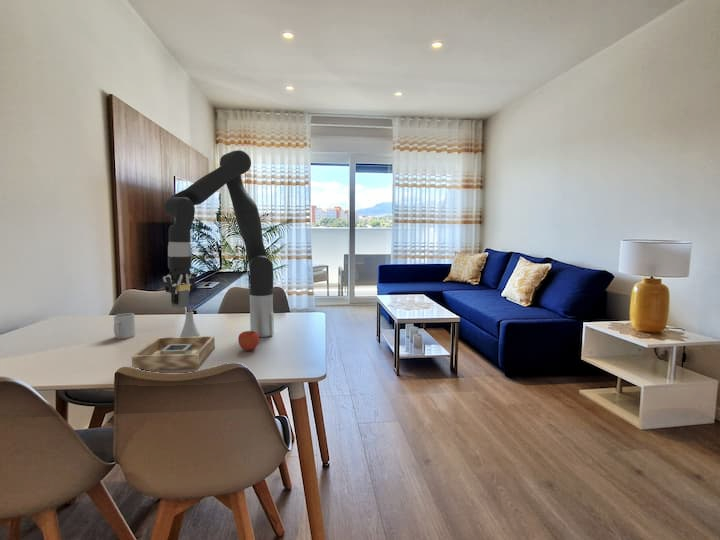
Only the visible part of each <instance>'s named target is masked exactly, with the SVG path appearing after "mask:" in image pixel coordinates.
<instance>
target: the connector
mask: <svg viewBox="0 0 720 540" xmlns="http://www.w3.org/2000/svg"><path fill="white" fill-rule="evenodd" d="M175 285H176V284H175ZM190 286H191V284H181V285H179V287H178V293H177V294H178V304H177V305H175V304H172V302H171V301H170V302H171V308H176V309H177V308H178V309H182V308H186V307H189V306H190V292H189V290H190ZM173 290H175V287H173ZM190 291H191V290H190Z"/></svg>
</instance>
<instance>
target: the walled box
mask: <svg viewBox="0 0 720 540" xmlns="http://www.w3.org/2000/svg"><path fill="white" fill-rule="evenodd" d="M215 338H216V337H215V336H212V335H211V336H210V335H209V336H205V335H204V336H197V337H180V336H163V337H162V336H161V337H160V336H158V337H157V338H155V339H154V340H152V341H151V342H150V343H148V344H147V345H145V346H144V347H143V348H141V349H140V350H139V351H137V352H135V353H134V354H133V355H132V356H131V368H132V367H134V368H139V369H144V370H143V371H154V370H155V371H156V370H158V371H159V370H187V369H188V370H193V369H195V370H196V369H199V368H200V367H201V366H202V365H203V364H204V362H205V361H206V359H208V358H209V356H210V355H211V354H212V352H213V351H214V350H215V348H216V346H215V345H216V340H215ZM169 344H192V350H193V352H192V353H191V354H173V355H160V351H161V350H162V349H164V348H165V347H166V346H167V345H169Z"/></svg>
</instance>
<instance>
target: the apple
mask: <svg viewBox="0 0 720 540" xmlns="http://www.w3.org/2000/svg"><path fill="white" fill-rule="evenodd" d="M252 330H253V329H252ZM237 340H238V341H237V342H238V343H239V344H238V345H239V346H240V348H241V349H242V350H244V351H246V352H250V351H253V350H254V349H256V348H257V347H258V344H259V341H260V337H259V335H258V334H257V333H256V332H254V331H250V330H246V331H242V332H240V333H239V335H238V339H237Z"/></svg>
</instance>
